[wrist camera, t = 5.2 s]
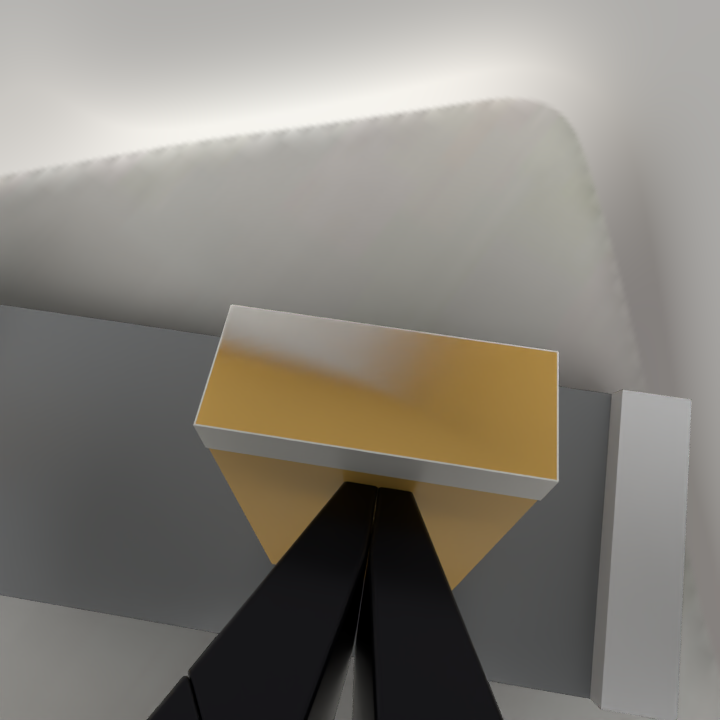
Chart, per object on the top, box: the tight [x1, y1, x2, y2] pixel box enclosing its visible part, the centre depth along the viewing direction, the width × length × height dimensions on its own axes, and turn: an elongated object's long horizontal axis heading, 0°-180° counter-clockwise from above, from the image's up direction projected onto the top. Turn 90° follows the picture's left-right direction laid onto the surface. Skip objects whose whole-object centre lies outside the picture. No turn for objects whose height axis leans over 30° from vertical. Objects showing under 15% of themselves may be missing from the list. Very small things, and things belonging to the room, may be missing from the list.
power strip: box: [0, 305, 692, 720], centre depth 17 cm, size 7×26×5 cm, turn 81°
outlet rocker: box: [193, 304, 559, 590], centre depth 11 cm, size 2×4×8 cm, turn 81°
